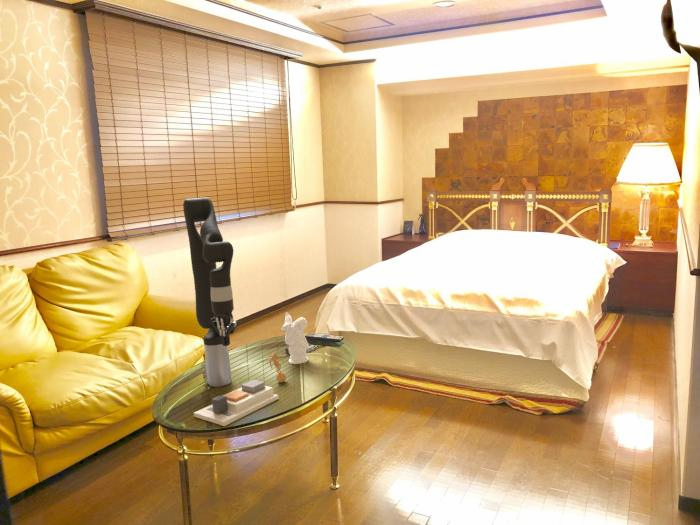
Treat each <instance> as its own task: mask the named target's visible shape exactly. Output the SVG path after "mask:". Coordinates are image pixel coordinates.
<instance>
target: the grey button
mask: <svg viewBox="0 0 700 525" xmlns="http://www.w3.org/2000/svg"><path fill="white" fill-rule="evenodd" d="M265 386H266V383H265V381H261V380H258V379H251V380H249V381H247V382H244V383H242V384H241V387H242V391H244V392H248V393H252V394H254V393H256V392H258V391H260V390H262V389H264V388H265Z"/></svg>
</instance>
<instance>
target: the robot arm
mask: <svg viewBox="0 0 700 525" xmlns="http://www.w3.org/2000/svg"><path fill="white" fill-rule="evenodd" d="M182 207H183V214H184V220H185V221H184V222H185V226H186V230H187V236H188V241H189V244H188V245H189V250H190V251H189V252H190V262H191V268H192V274H193V282H194V284H193V285H194V291H195V293H194V294H195V316H196V321H197V323H198V325H199V326H200V327H201V328H202V329H206V330H207V329H208V330H207V333H206V334H205V335H204V336H203V347H204V354H205V355H204V356H205V360H204V366H205V367H204V368H205V374H206V375H205V376H206V383H207V384H208V385H209V387H213V388H214V387H215V388H219V387H224V386H228V385H229V384H231V383H232V381H233V380H232V372H231V371H232V370H231V362H230V354H229V353H230V352H229V346H230V344H231V341H230V340H231V339H230V338H231V337H230V336H231V335H233V334H234V333H235V331H236V329H237V327H238V325H239V322H238V320H236V321H235V319H234V316H233V312H234V310H235V309H234V298H233V288H232V284H231V282H232V281H231V267H232V262H233V258H234V257H233V256H234V246H233V245H232V243H231V242H230V241H226V240H225V241H224V239H223V235H222V233H221V232H220V228H219V226H218V220H217V216H216V212H215V209H214V207H215V206H214V204H213V202H212V200H211V199H210V198H209V197H195V198H194V197H193V198H185V199H184V200H183V205H182ZM200 222H203V223H202V225H201V227H200V230H199V231H198V230H197V227H196V224H195V223H200ZM217 263H222V264H221V266H219V267H217Z"/></svg>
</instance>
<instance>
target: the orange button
mask: <svg viewBox="0 0 700 525" xmlns="http://www.w3.org/2000/svg"><path fill="white" fill-rule="evenodd" d="M235 390H236V391H235ZM235 390H233V391H234V392H232V391H231V392H232V393H230V392H228V393H229V394H228V393H226V394H227V395H226V394H224V395H225V396H226V397H227V400H229V401H233V402H237V401H239V400H241V399H243V398H245V397H247V396H248V393H246V392H242V391H238V390H237V389H235Z"/></svg>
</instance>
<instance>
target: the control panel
mask: <svg viewBox="0 0 700 525" xmlns="http://www.w3.org/2000/svg"><path fill="white" fill-rule="evenodd" d="M236 390H238V391H242V386H241V387H239V388H237V389H234V390H233V391H230V392H227V393H226V394H222V395H223V396H225V395H227V394H229V393H232V392H234V391H236ZM242 392H244V391H242ZM246 393H248V392H246ZM277 400H279V395H278V394H276V393H274V388H273V387H272V386H268V385H265V388H264V389H262V390H260V391H258V392H256V393H254V394H252V393H248V396H247V397H245V398H243V399H241V400H239V401H237V402H233V401H229V400H227V406H228V410H227V411H225V412H223V413H221V414H216V413H213V405H212V404H209V405H208V406H205V407H203V408H201V409H199V410H197V411H193V417H194V418H197V419H200V420H204V421H207V422H210V423H213V424H216V425H220V426H223V427H225V426H227V425H229V424H231V423H233V422H235V421H238V420H240V419H241V418H243V417H245V416H247V415H249V414H251V413H254V412H255V411H257V410H259V409H261V408H263V407H265V406H267V405H269V404H271V403H273V402H275V401H277Z"/></svg>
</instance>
